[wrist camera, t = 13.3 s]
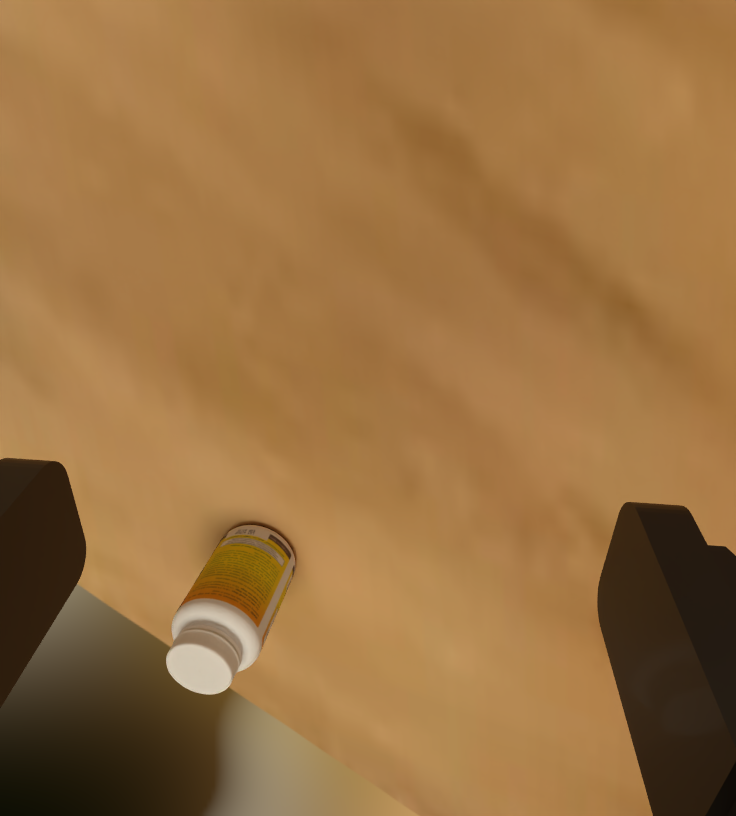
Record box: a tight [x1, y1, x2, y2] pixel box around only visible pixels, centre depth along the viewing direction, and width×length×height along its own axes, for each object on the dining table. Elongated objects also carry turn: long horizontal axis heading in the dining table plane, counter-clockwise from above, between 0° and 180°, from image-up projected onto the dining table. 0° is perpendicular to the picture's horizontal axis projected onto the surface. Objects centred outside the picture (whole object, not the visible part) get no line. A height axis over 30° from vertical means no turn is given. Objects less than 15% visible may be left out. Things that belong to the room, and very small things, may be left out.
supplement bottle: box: [166, 525, 295, 694], centre depth 41 cm, size 6×6×10 cm
